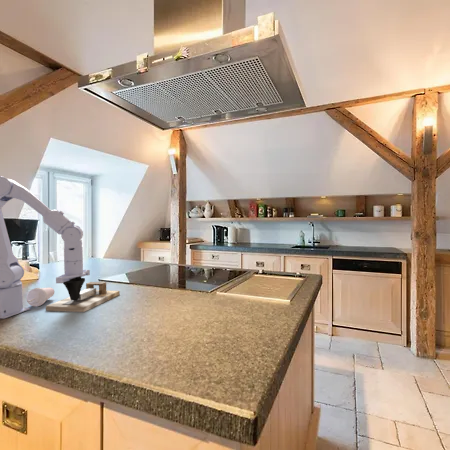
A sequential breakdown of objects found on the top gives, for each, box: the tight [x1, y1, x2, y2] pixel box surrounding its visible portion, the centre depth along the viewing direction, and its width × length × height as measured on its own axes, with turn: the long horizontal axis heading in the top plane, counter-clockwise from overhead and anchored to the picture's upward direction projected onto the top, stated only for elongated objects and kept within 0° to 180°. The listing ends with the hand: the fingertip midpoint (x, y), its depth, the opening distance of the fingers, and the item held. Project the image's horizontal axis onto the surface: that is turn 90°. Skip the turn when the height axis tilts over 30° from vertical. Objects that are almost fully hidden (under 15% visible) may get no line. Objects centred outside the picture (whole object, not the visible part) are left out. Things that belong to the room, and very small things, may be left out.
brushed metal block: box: [78, 287, 97, 301], centre depth 107 cm, size 9×3×2 cm, turn 170°
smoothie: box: [26, 287, 55, 308], centre depth 105 cm, size 6×6×14 cm
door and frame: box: [45, 281, 121, 313], centre depth 107 cm, size 22×14×6 cm, turn 170°
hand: (74, 299), depth 101 cm, fingers closed
